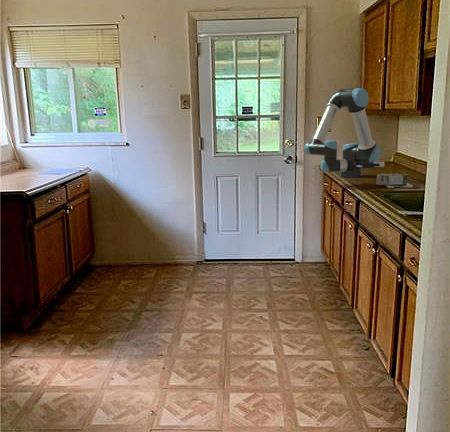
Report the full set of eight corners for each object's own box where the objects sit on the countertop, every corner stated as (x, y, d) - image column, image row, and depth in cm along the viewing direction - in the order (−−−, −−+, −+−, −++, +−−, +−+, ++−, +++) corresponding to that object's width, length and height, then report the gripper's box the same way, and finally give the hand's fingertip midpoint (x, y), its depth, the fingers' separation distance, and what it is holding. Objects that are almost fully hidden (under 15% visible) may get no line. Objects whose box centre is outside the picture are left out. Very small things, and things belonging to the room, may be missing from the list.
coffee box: (376, 184, 281) (402, 186, 271) (376, 174, 279) (403, 176, 270) (380, 182, 288) (407, 184, 279) (381, 172, 286) (407, 174, 277)
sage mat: (378, 182, 294) (378, 181, 294) (401, 182, 294) (401, 180, 294) (388, 187, 276) (388, 186, 275) (412, 187, 275) (412, 185, 275)
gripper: (343, 170, 290) (380, 169, 290) (348, 172, 278) (387, 171, 277) (343, 158, 288) (381, 157, 288) (348, 160, 276) (387, 159, 275)
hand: (384, 164), depth 282 cm, fingers closed
